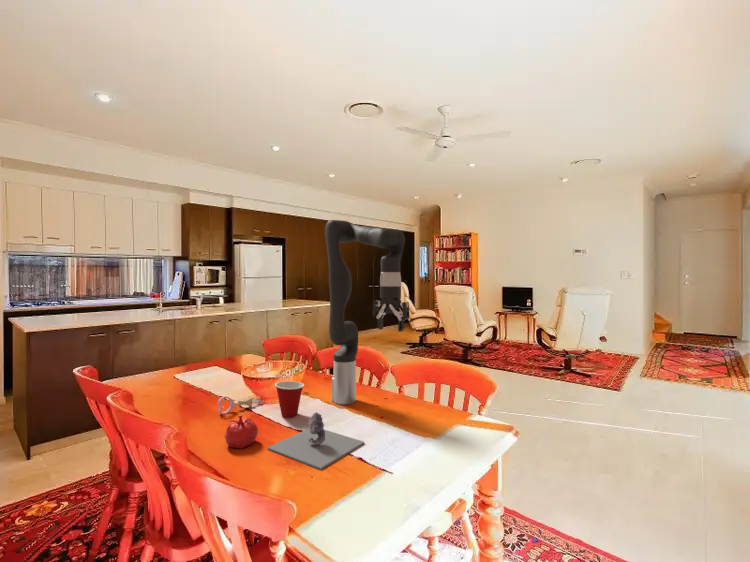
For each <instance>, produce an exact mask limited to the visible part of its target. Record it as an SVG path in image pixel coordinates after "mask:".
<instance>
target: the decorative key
mask: <svg viewBox="0 0 750 562" xmlns="http://www.w3.org/2000/svg"><path fill="white" fill-rule="evenodd" d="M225 399H227V400H228V401H229V407H228V408H227V409H226V411H223V412H222V410H223V409H224V408H225V407H224V406H222V405H221V403H222V401H223V400H225ZM261 400H262V399H261V398H258V399H257V400H253V397H249V398H248V399H246V400H238V401H237V402H235V401H236V399H234V398H231V397H229V396H227V395H224V396H221V397H219V398H218V400H217V405H218V407H219V408H218V413H219V414H220V415H227V414H229V413H230V412H231V411H232V410H234V409H235V407H234V406H235V405H237V407H240V406H243V405H244V406H248V407H250V408H252V407H253V404H256V403H257V405H260V404H262V403H264V402H265V400H263V401H261Z"/></svg>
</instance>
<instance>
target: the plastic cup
mask: <svg viewBox="0 0 750 562" xmlns="http://www.w3.org/2000/svg"><path fill="white" fill-rule="evenodd" d="M274 385H275V387H276V391H277V393H276V394H277V399H278V404H279V409H280V414H281V416H282V418H286V419H289V418H294V417H295V418H296V416H298V413H299V406H300V403H301V402H300V401H301V396H302V392H303V390H304V386H305V383H303V382H300V381H294V380H293V381H292V380H288V381H287V380H286V381H285V380H284V381H280V382H276V383H275V384H274Z"/></svg>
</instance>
